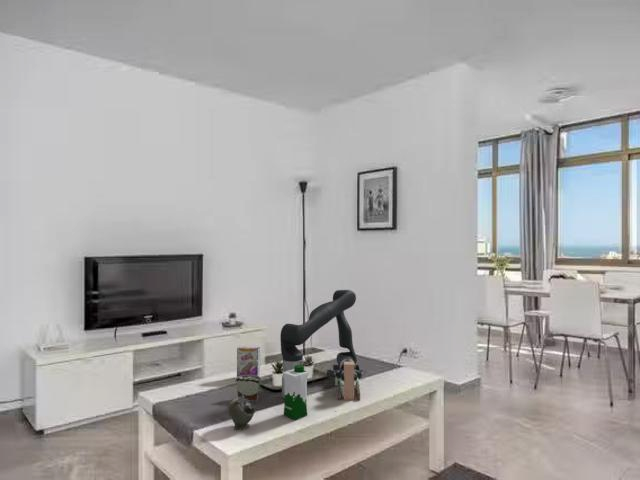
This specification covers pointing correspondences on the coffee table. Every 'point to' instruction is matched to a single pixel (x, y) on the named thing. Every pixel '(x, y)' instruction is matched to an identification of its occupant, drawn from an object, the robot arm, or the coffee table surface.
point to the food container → (248, 386)
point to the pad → (343, 382)
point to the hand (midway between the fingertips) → (349, 378)
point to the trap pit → (337, 367)
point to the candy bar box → (248, 360)
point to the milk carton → (295, 392)
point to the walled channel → (356, 390)
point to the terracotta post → (348, 380)
